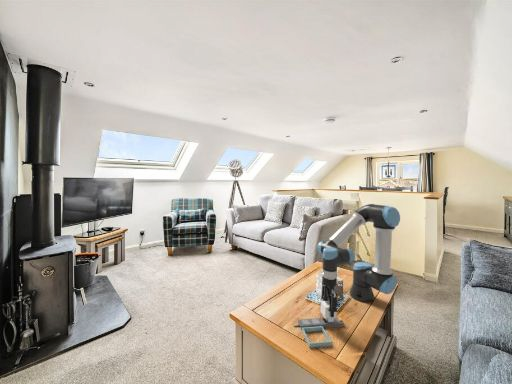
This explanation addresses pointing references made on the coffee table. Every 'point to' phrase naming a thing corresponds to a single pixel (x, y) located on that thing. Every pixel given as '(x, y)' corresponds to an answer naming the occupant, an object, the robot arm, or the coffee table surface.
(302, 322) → the power strip
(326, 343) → the teal square frame
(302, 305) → the coffee table surface
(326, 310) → the charger
